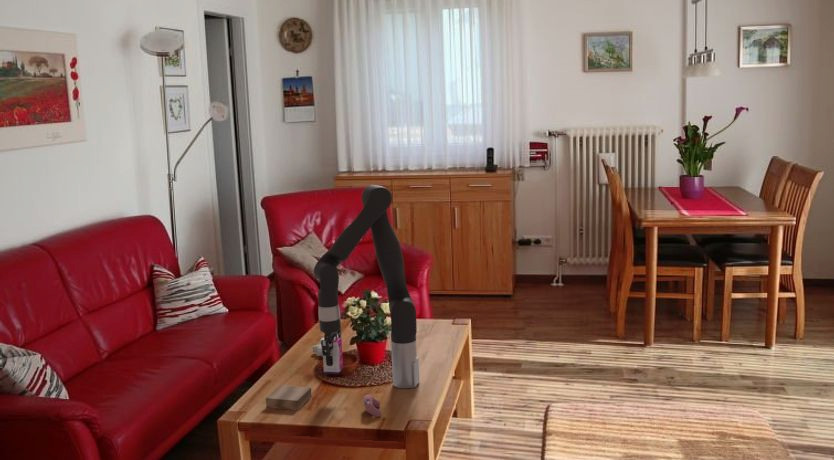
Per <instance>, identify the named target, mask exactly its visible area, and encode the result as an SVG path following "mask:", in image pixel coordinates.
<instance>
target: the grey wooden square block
mask: <svg viewBox="0 0 834 460" xmlns="http://www.w3.org/2000/svg"><path fill="white" fill-rule="evenodd" d="M312 396H313V395H312V387H307V386H297V385H296V386H294V385H285V384H282V385H279V386H278V387H276V389H274V390H273V391H272V392H270V394H269V395H267V396H266V398H265V404H266V406H265V407H266V408H267V409H276V408H278V409H280V410H289V411H299V410H300V409H301V408H302V407H303V406H304V405H305V404H306V403H307V402H308V401H310V399H311V398H312Z"/></svg>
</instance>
